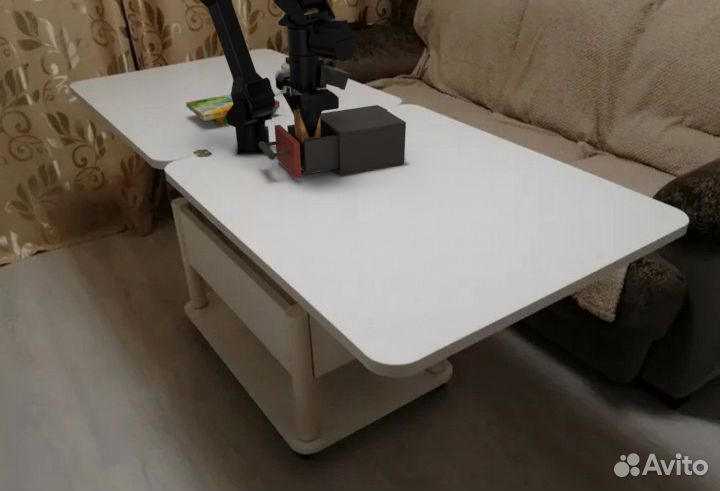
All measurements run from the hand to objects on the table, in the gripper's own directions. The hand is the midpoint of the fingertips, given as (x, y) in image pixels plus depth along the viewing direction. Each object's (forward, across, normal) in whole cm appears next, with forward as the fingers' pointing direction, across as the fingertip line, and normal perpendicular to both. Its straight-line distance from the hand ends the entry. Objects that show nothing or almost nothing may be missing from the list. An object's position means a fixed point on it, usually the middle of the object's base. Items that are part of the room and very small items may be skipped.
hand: (307, 133), depth 118 cm
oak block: (+1, 0, 0) cm, 1 cm away
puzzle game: (+8, +39, +5) cm, 40 cm away
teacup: (+8, +53, -18) cm, 57 cm away
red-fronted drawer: (+7, 0, 0) cm, 7 cm away
